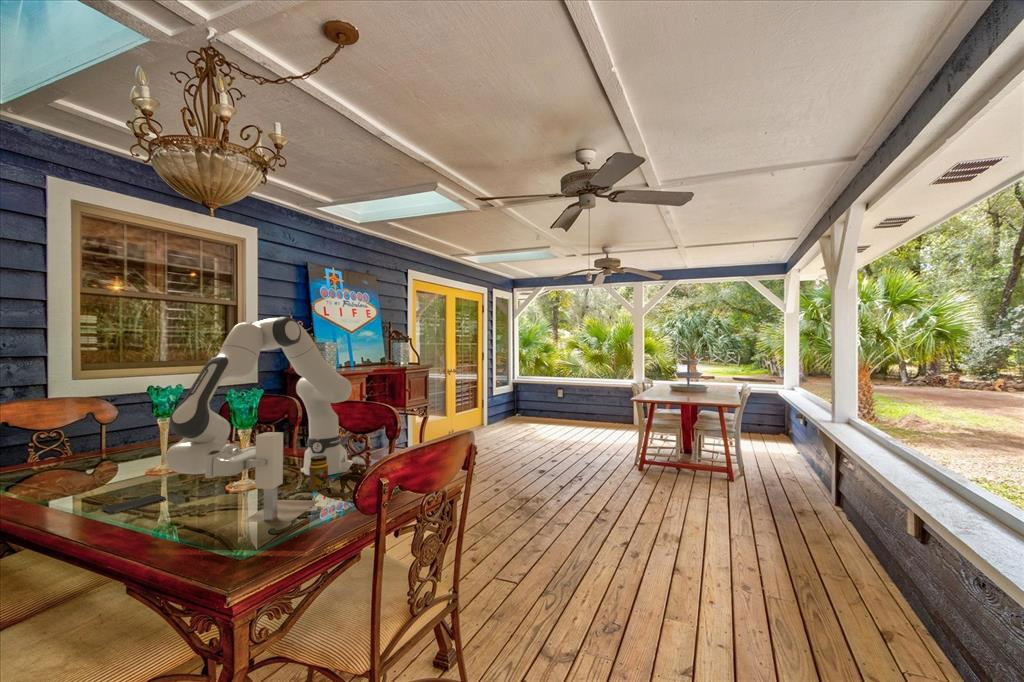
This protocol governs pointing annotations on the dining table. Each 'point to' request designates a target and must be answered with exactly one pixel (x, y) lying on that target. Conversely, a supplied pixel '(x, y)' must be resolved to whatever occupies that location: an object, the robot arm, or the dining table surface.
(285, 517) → the board
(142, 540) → the dining table surface
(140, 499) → the phone
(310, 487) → the condiment
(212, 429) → the robot arm
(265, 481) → the tall gray pillar
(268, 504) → the post
